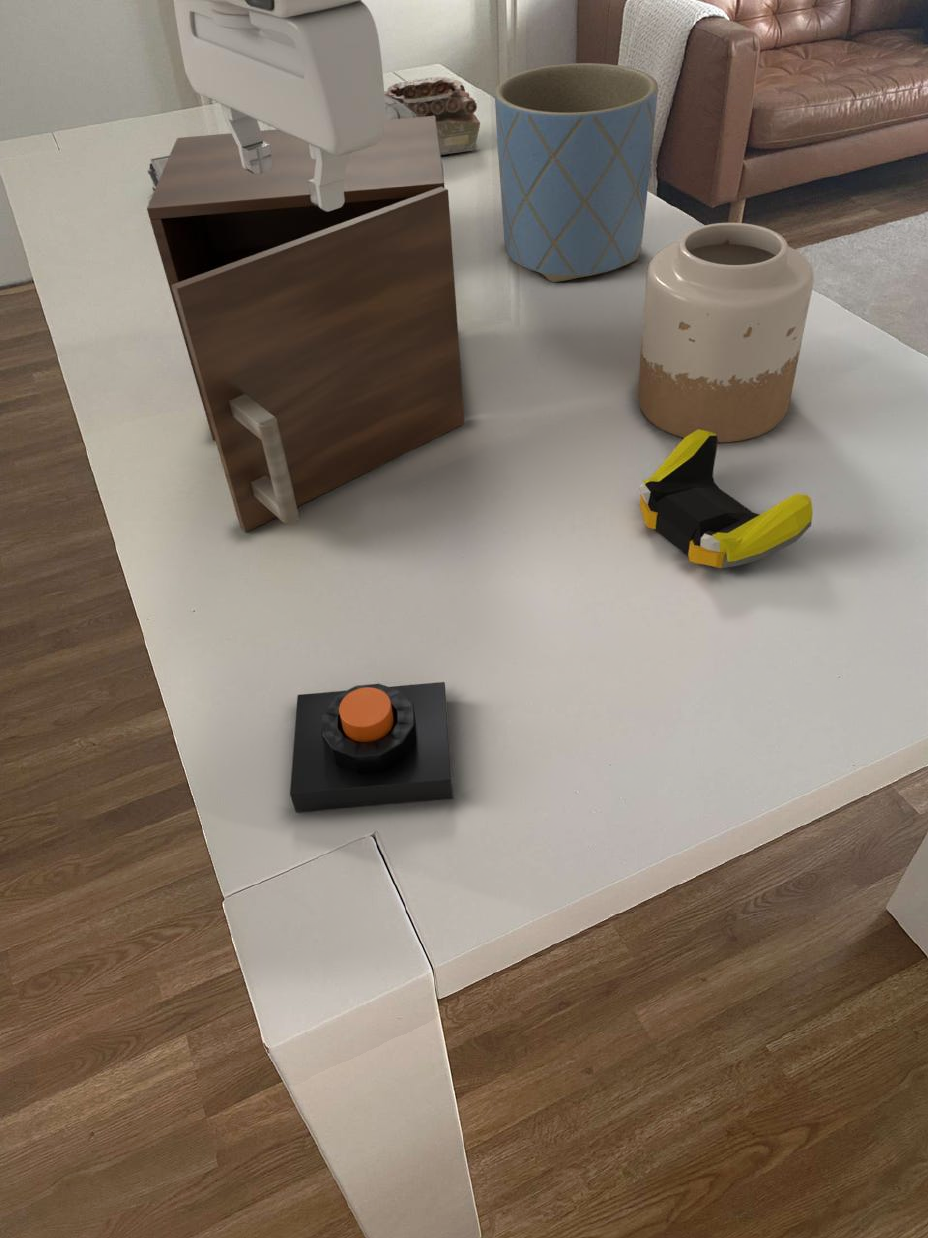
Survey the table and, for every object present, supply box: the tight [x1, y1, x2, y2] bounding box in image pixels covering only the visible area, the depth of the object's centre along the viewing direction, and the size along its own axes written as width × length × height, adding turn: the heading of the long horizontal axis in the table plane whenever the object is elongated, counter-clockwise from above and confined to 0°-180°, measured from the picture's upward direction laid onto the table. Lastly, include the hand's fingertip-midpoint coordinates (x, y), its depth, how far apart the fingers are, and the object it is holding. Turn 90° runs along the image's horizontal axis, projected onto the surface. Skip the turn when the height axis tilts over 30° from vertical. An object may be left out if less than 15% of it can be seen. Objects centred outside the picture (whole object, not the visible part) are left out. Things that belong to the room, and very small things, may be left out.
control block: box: [289, 681, 454, 813], centre depth 69 cm, size 11×9×4 cm
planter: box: [494, 62, 659, 283], centre depth 121 cm, size 19×19×20 cm
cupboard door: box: [172, 187, 465, 533], centre depth 85 cm, size 7×26×24 cm, turn 129°
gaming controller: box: [638, 429, 813, 570], centre depth 85 cm, size 15×6×10 cm
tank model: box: [384, 76, 481, 156], centre depth 153 cm, size 13×20×10 cm, turn 98°
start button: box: [339, 687, 394, 743], centre depth 68 cm, size 4×4×2 cm
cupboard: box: [146, 116, 446, 441], centre depth 99 cm, size 18×26×24 cm
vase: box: [637, 222, 815, 443], centre depth 95 cm, size 15×15×17 cm
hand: (292, 187), depth 68 cm, fingers open, 8 cm apart
